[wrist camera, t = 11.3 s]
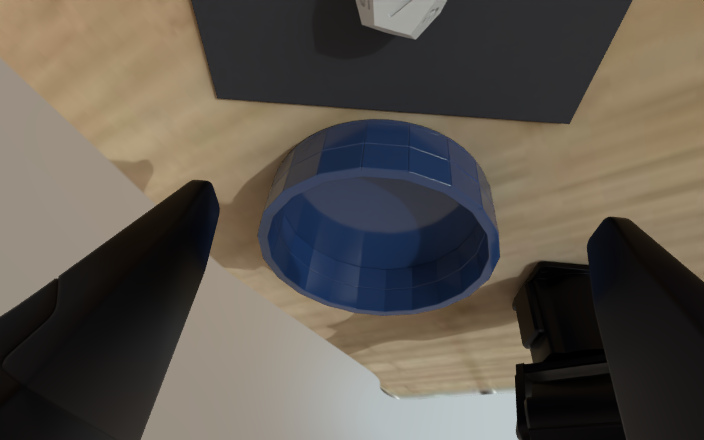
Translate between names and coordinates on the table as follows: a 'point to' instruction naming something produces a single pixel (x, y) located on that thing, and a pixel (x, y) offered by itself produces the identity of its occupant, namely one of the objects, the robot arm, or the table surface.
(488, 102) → the cloth
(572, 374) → the robot arm
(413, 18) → the game die
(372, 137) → the blue bowl
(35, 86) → the table surface
